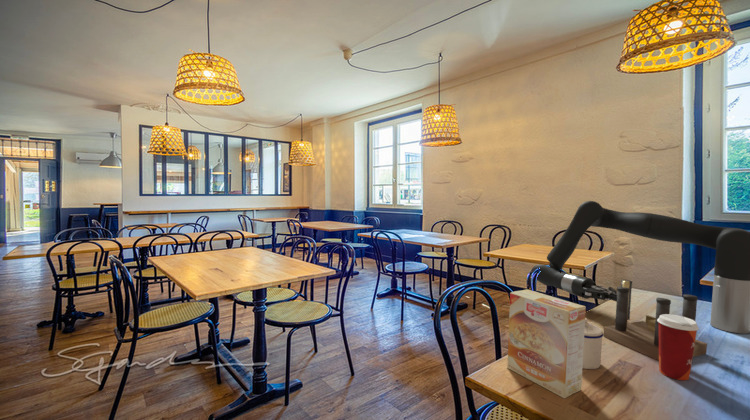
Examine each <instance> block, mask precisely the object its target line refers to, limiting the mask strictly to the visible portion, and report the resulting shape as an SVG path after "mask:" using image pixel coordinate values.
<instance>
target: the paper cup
mask: <svg viewBox="0 0 750 420" xmlns="http://www.w3.org/2000/svg"><path fill="white" fill-rule="evenodd" d="M657 321H658V322H659V360H658V368H659V369H658V371H659V372H660V374H662V375H664V376H666V377H668V378H670V379H672V380H678V381H683V382H684V381H689V379H690V375H691V370H692V363H693V358H694V357H693V352H694V345H695V339H696V338H697V332H698V331H699V329H700V328H699V326H698V323H697V322H696V320H695V321H694V320H692V319H689V318H686V317H683V316H682V315H679V314H678V315H677V314H671V313H670V314H662V315H660V316H659V318H658V319H657ZM696 340H697V339H696Z"/></svg>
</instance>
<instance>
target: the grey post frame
mask: <svg viewBox="0 0 750 420" xmlns="http://www.w3.org/2000/svg"><path fill="white" fill-rule="evenodd" d="M620 287H626V288H629V295H628V312H627V321H628V320H629V321H630V318H631V307H632V306H631V304H632V287H633V281H632V280H629V279H620Z"/></svg>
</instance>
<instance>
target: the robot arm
mask: <svg viewBox="0 0 750 420" xmlns="http://www.w3.org/2000/svg"><path fill="white" fill-rule="evenodd" d="M591 227H595V228H603V229H610V230H617V231H620V232H624V233H628V234H631V235H635V236H638V237H643V238H647V239H652V240H656V241H662V242H667V243H678V244H679V243H680V244H690V245H698V246H702V247H706V248H710V249H713V250H715V260H714V267H713V268H714V269H713V281H712V282H713V283H712V297H711V311H710V323H709V324H710V326H712V327H714V328H716V329H718V330H720V331H721V330H722V331H726V332H730V333H735V334H742V335H743V334H746V335H747V334H750V231H748V230H746V229H743V228H737V227H726V226H715V225H708V224H701V223H696V222H693V221H689V220H685V219H681V218H677V217H672V216H668V215H664V214H663V215H662V214H656V213H652V212H651V213H650V212H626V211H625V212H622V211H618V210H613V209H608V208H605V207H603V206H602V205H601V204H600V203H599V202H597V201H594V200H588V201H587V200H586V201H584V202H582V203H581V204H580V205H579V206H578V207H577V210H576V212H575V214H574V215H573V218H572V220H571V222H570V223H569V224H568V227H567V228H566V230H565V232H564V233H563V234H562V235H561V236H560V238H559V240H558V241H557V242H556V243H555V245H554V246H553V248H552V249H550V252H548V254H547V256H546V260H547V261H548V262H549V265H548V266H547V265H544V264H535V265H534V266H533V267H532V268H531V271H533V270H534V269H536V268H538V267H540V271H541V272H540V274H539V275H538V277H537V280H536V281H537V282H539V283H541V284H543V285H544V286H546V287H547V286H548V287H549V286H553V287H555V288H557V289H559V290H562V291H565V292H567V293H568V294H570V295H574V296H577V297H580V298H583V299H597V300H601V301H606V300H607V301H614V302H616V303H617V289H615V288H614V287H611V286H608V287H604V286H602V285H600V284H597V283H596V282H595V281H594V280H593V279H592V278H589V277H587V276H586V277H585V276H582V275H579V274H573V273H569V272H568V273H567V272H565V271H562V270H563V268H564V265H565V264H566V262H567V261H568V260H569V259H570V257H571V256H572V254H573V253H574V251H575V250H576V248H577V246H578V244H579V242H580V240H581V239H582V237H583V235H584V234H585V233H586V232H587V231H588V230H589V229H590V228H591ZM549 266H550V267H549ZM538 269H539V268H538ZM559 269H561V273H560V272H559V271H560V270H559ZM531 271H530V272H531Z"/></svg>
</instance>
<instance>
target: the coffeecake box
mask: <svg viewBox="0 0 750 420" xmlns="http://www.w3.org/2000/svg"><path fill="white" fill-rule="evenodd" d="M509 295H510V297H509V312H508V313H509V314H508V315H509V316H508V319H509V320H508V342H507V343H508V344H507V362H506V363H507V364H506V369H509V370H510V371H512V372H514V373H516V374H518V375H519V376H522V377H524V378H525V379H527V380H529V381H531V382H533V383H535V384H536V385H539V386H540V387H542V388H544V389H545V390H547V391H550V392H551V393H553V394H554V395H557V396H559V397H561V398H563V399H567V398H568V397H570V396H572V395H573V394H576V393H578V392H580V391H581V390H582V387H583V386H582V384H583V380H582V379H583V368H582V367H583V348H584V330H585V318H586V309H587V307H586V306H585V305H582V304H578V303H576V302H571V301H569V300H565V299H562V298H559V297H555V296H551V295H548V294H545V293H541V292H538V291H534V290H531V289H529V288H528V289H523V290H515V291H511V292H510V293H509Z"/></svg>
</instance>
